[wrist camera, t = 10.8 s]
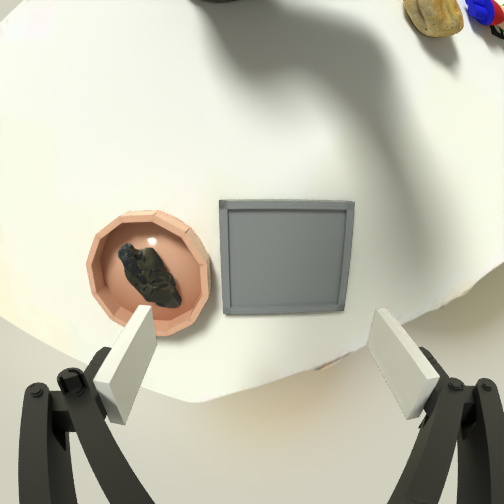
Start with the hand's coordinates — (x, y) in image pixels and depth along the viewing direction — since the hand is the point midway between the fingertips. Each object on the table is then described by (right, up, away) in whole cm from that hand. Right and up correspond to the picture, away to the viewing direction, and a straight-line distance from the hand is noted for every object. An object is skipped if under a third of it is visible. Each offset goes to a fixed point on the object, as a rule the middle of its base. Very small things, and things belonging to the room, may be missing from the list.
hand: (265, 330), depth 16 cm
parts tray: (+5, +3, +30) cm, 31 cm away
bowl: (-17, +1, +30) cm, 35 cm away
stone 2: (+30, +49, +17) cm, 60 cm away
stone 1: (-17, +1, +30) cm, 34 cm away
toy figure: (+51, +56, +15) cm, 77 cm away
